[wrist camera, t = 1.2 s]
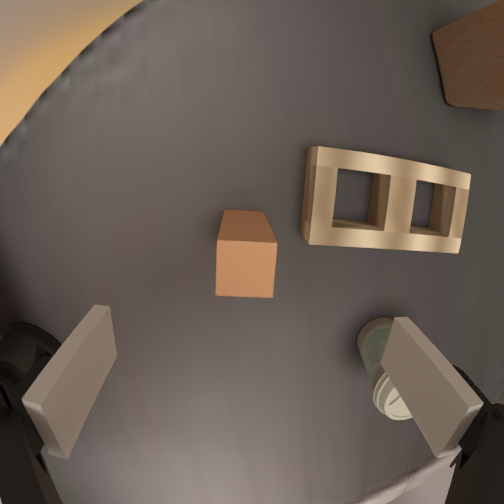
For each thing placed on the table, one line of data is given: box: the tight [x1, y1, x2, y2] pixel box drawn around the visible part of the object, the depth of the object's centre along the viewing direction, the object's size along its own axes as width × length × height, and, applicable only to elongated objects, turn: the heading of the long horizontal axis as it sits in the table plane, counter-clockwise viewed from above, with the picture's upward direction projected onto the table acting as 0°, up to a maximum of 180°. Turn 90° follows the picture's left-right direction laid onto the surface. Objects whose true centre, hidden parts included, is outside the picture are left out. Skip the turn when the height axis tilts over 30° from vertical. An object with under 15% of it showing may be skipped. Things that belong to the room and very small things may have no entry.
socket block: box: [300, 146, 471, 253], centre depth 31 cm, size 18×9×4 cm, turn 87°
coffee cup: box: [357, 317, 413, 420], centre depth 32 cm, size 8×8×12 cm
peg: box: [216, 210, 277, 298], centre depth 27 cm, size 4×4×12 cm
